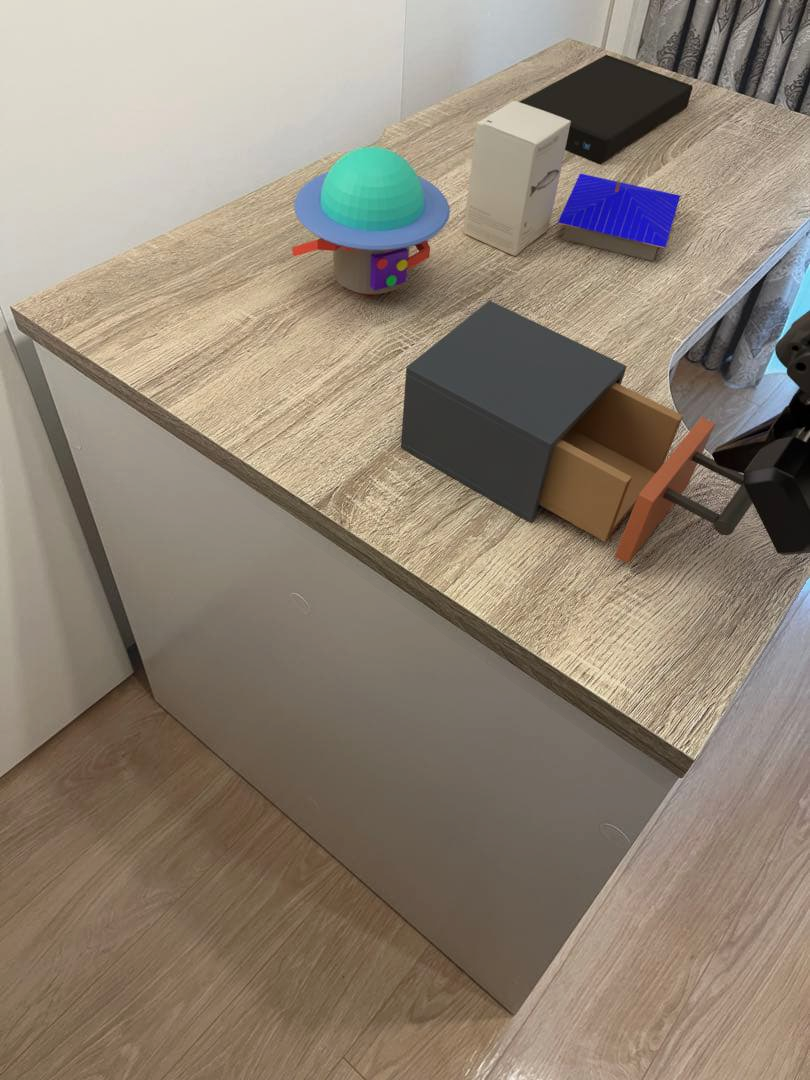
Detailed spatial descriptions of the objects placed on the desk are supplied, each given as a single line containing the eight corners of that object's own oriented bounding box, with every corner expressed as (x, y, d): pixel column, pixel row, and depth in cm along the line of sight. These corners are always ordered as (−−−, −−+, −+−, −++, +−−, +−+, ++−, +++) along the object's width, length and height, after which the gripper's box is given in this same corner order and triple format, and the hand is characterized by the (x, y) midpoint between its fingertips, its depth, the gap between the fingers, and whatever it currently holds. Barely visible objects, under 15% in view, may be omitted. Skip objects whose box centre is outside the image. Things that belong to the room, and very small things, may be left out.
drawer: (748, 518, 70) (783, 456, 65) (692, 601, 65) (725, 540, 59) (560, 421, 77) (577, 356, 71) (494, 488, 71) (507, 423, 66)
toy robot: (399, 233, 96) (405, 104, 86) (468, 306, 88) (486, 174, 78) (274, 264, 91) (265, 131, 80) (336, 344, 83) (335, 209, 72)
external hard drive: (686, 108, 121) (693, 85, 119) (600, 164, 109) (606, 141, 107) (600, 76, 126) (605, 54, 124) (509, 126, 115) (513, 103, 112)
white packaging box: (516, 258, 95) (536, 144, 85) (460, 233, 97) (474, 120, 87) (550, 231, 98) (573, 119, 89) (496, 208, 101) (513, 97, 91)
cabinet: (601, 445, 76) (627, 365, 69) (531, 523, 70) (551, 444, 63) (477, 380, 81) (489, 299, 74) (400, 448, 75) (406, 367, 68)
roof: (576, 191, 105) (585, 147, 100) (674, 214, 102) (688, 170, 98) (553, 241, 97) (563, 196, 93) (659, 266, 95) (673, 221, 91)
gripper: (952, 218, 52) (722, 300, 65) (851, 368, 42) (602, 431, 55) (1009, 376, 56) (780, 425, 68) (928, 548, 46) (677, 569, 58)
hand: (715, 456), depth 62 cm, fingers closed
